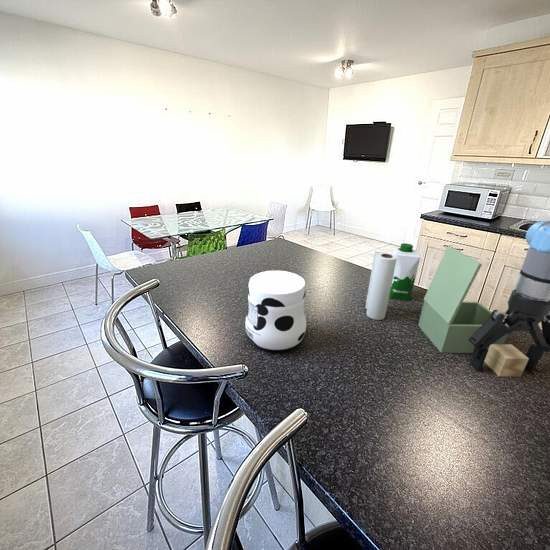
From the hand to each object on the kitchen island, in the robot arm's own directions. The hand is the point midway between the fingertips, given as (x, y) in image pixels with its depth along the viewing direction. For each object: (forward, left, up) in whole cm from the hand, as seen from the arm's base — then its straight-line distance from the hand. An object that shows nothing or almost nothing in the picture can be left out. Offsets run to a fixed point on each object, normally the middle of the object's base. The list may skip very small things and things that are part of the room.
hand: (501, 367), depth 75 cm
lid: (+14, -9, +18) cm, 24 cm away
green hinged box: (+8, -11, 0) cm, 14 cm away
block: (0, 0, 0) cm, 0 cm away
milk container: (+59, +6, 0) cm, 59 cm away
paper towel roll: (+31, -17, 0) cm, 35 cm away
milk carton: (+23, -33, 0) cm, 40 cm away
